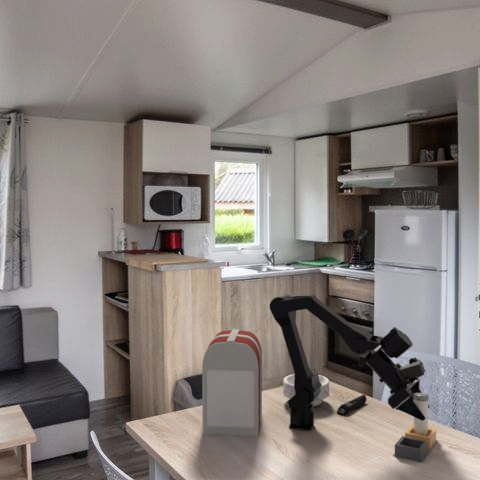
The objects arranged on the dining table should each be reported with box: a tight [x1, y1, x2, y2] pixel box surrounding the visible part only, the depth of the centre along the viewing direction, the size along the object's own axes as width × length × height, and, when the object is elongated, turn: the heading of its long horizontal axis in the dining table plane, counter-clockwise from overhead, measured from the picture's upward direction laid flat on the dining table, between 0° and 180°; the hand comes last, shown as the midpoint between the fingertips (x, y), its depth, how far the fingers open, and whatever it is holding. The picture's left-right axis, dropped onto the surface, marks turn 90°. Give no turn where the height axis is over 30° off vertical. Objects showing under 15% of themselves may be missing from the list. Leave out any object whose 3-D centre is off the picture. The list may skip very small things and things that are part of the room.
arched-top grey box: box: [201, 328, 263, 437], centre depth 167 cm, size 16×18×27 cm
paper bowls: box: [282, 373, 330, 407], centre depth 186 cm, size 15×15×8 cm
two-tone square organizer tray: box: [392, 424, 439, 464], centre depth 148 cm, size 16×8×4 cm, turn 147°
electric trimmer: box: [336, 394, 367, 417], centre depth 181 cm, size 4×16×3 cm, turn 140°
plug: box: [413, 392, 430, 436], centre depth 152 cm, size 4×4×13 cm
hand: (426, 413), depth 151 cm, fingers open, 9 cm apart
